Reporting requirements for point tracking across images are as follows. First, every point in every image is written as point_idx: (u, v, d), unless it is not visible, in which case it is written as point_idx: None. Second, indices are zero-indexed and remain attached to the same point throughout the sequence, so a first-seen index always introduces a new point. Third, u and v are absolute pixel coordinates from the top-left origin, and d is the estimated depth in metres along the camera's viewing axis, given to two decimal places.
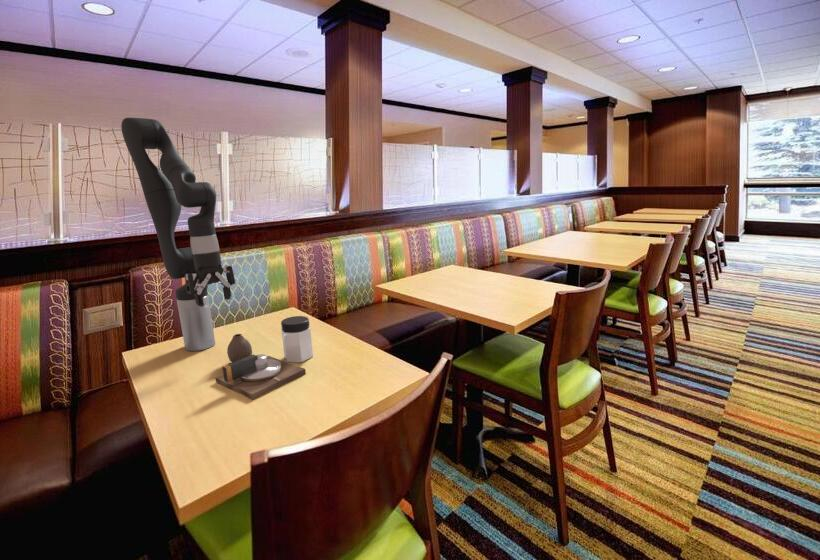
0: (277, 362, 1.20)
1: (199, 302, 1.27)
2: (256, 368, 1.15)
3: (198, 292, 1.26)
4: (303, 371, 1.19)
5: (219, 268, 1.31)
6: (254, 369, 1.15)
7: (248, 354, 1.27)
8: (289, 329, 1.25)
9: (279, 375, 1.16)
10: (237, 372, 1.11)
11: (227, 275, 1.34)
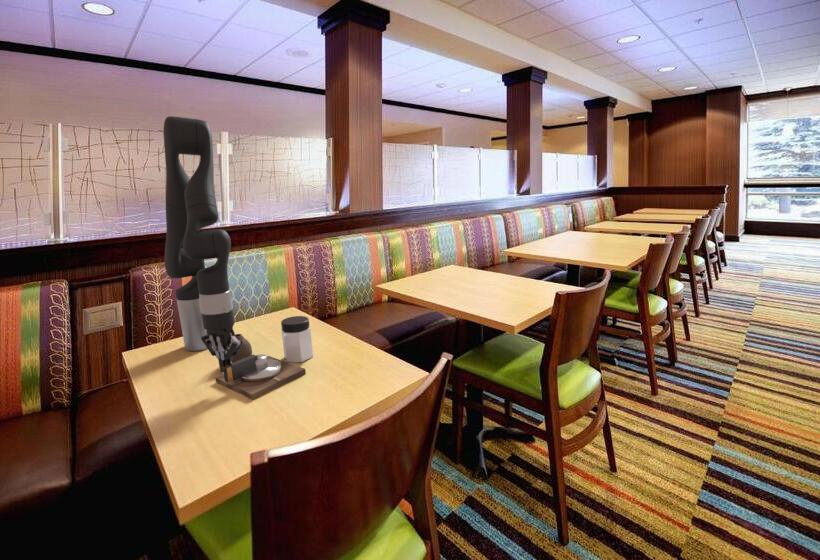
0: (277, 362, 1.20)
1: None
2: (256, 368, 1.15)
3: None
4: (303, 371, 1.19)
5: None
6: (254, 369, 1.15)
7: (248, 354, 1.27)
8: (289, 329, 1.25)
9: (279, 375, 1.16)
10: (237, 372, 1.11)
11: (211, 344, 1.12)
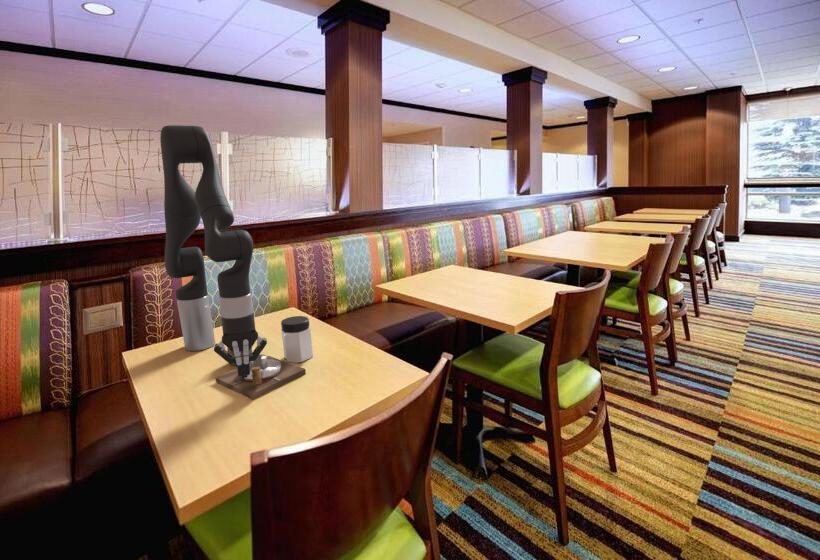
0: None
1: None
2: (263, 367, 1.16)
3: None
4: (303, 371, 1.19)
5: None
6: (262, 368, 1.15)
7: None
8: (289, 329, 1.25)
9: (279, 375, 1.16)
10: (261, 372, 1.10)
11: (226, 353, 1.06)
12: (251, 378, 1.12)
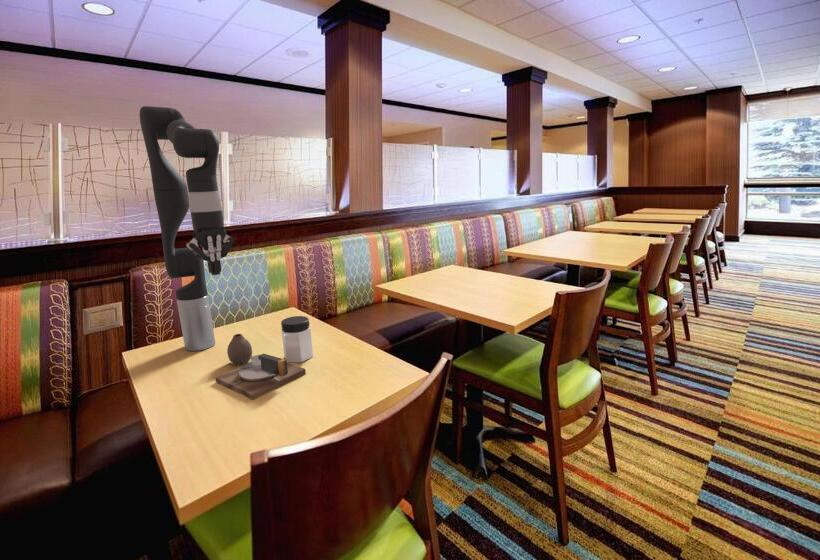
0: None
1: None
2: None
3: None
4: (303, 371, 1.19)
5: None
6: None
7: (248, 354, 1.27)
8: (289, 329, 1.25)
9: None
10: None
11: None
12: (267, 376, 1.13)
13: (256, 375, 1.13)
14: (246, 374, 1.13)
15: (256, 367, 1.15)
